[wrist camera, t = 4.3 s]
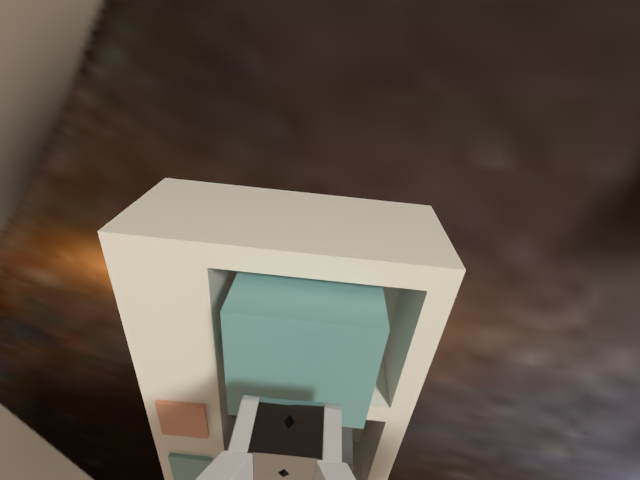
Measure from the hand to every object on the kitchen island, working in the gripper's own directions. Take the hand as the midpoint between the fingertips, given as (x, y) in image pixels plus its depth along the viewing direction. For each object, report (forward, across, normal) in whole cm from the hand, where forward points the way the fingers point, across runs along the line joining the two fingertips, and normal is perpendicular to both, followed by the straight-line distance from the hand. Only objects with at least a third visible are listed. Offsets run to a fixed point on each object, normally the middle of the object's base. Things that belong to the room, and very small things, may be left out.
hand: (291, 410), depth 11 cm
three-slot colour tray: (+8, +1, +8) cm, 11 cm away
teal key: (+4, 0, 0) cm, 4 cm away
